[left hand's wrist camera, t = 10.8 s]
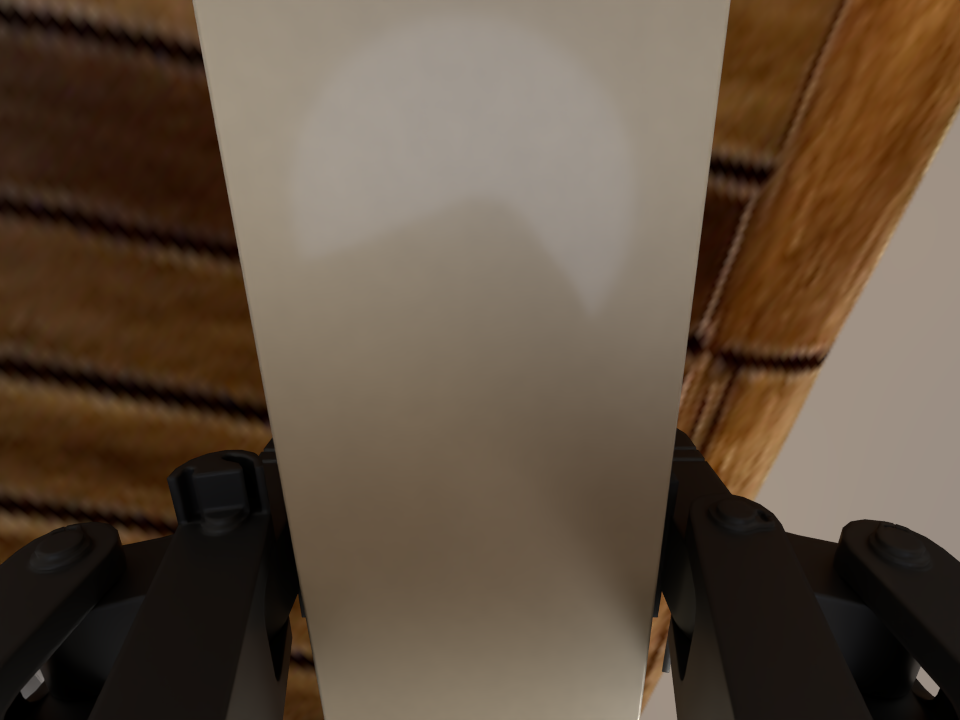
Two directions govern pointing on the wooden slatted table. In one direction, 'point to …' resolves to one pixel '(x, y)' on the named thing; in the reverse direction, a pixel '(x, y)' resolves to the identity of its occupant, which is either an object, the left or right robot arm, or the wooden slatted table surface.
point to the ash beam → (470, 328)
